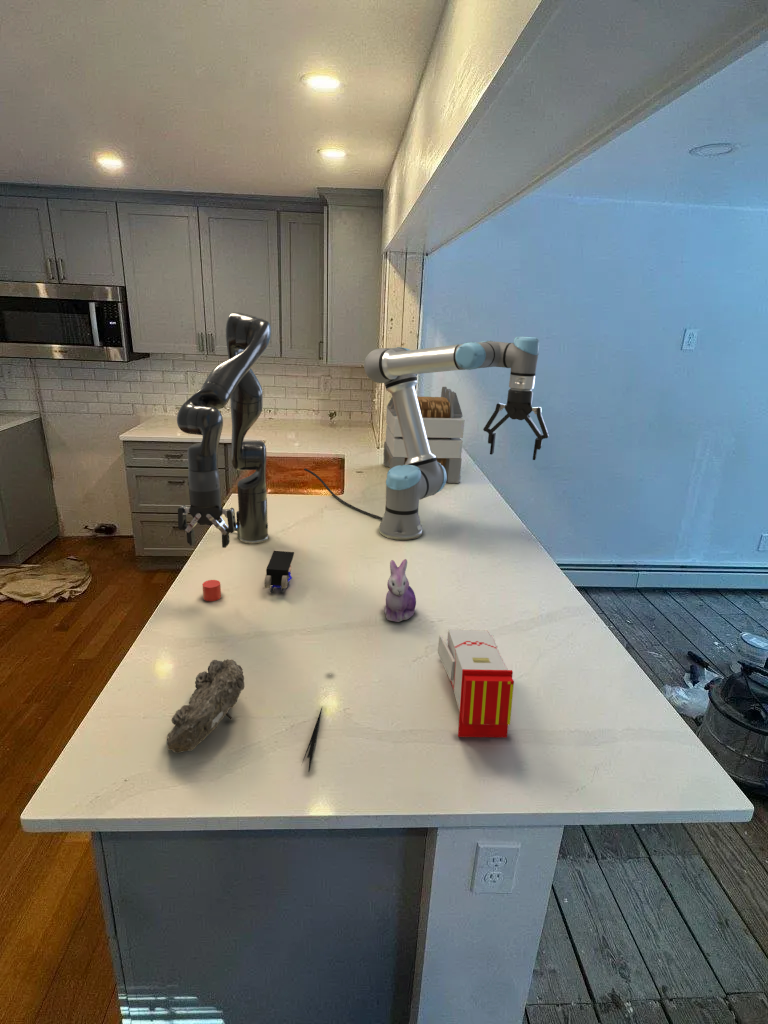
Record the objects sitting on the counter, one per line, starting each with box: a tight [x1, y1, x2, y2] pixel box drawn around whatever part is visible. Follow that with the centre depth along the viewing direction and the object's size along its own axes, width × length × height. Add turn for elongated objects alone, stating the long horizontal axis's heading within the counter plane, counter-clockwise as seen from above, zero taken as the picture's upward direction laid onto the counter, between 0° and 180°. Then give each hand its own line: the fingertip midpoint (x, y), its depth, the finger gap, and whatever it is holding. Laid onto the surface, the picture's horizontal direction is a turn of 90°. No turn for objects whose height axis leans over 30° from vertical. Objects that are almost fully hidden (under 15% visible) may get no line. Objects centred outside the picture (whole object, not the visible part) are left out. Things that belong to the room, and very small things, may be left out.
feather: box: [301, 673, 332, 771], centre depth 108 cm, size 2×28×2 cm
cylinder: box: [201, 579, 222, 602], centre depth 151 cm, size 5×5×4 cm
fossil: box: [166, 658, 245, 754], centre depth 106 cm, size 22×10×15 cm
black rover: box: [264, 550, 295, 594], centre depth 159 cm, size 7×8×15 cm
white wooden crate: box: [383, 386, 465, 484], centre depth 268 cm, size 34×33×41 cm
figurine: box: [384, 558, 417, 623], centre depth 145 cm, size 9×10×15 cm
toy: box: [437, 628, 515, 738], centre depth 117 cm, size 12×13×30 cm
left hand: (208, 545), depth 147 cm, fingers open, 8 cm apart
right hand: (512, 456), depth 182 cm, fingers open, 13 cm apart
